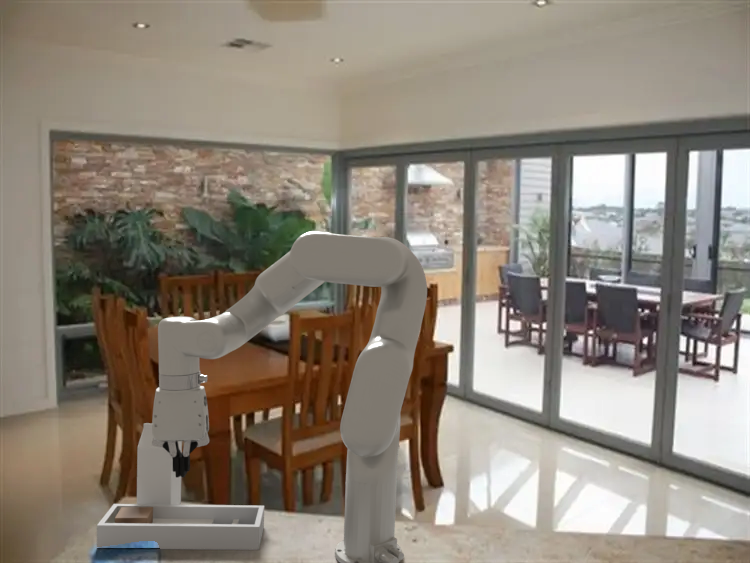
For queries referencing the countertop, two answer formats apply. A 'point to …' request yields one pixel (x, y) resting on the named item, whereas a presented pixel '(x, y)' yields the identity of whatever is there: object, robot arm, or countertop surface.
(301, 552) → the countertop surface
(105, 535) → the box
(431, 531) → the countertop surface
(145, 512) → the block
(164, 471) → the milk carton
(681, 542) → the countertop surface
